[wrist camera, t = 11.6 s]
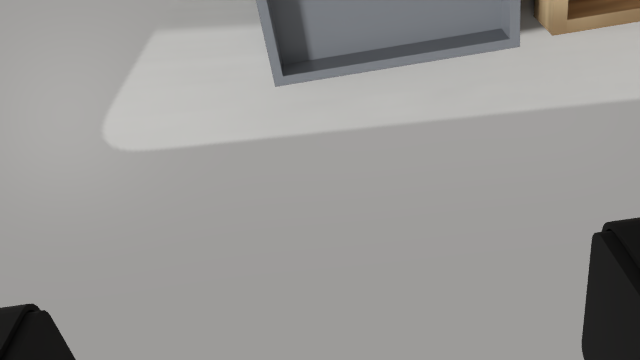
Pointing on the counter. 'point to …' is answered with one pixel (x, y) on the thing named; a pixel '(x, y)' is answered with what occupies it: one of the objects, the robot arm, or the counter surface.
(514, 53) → the counter surface
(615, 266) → the robot arm
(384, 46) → the container
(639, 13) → the tray
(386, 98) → the counter surface
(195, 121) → the counter surface
